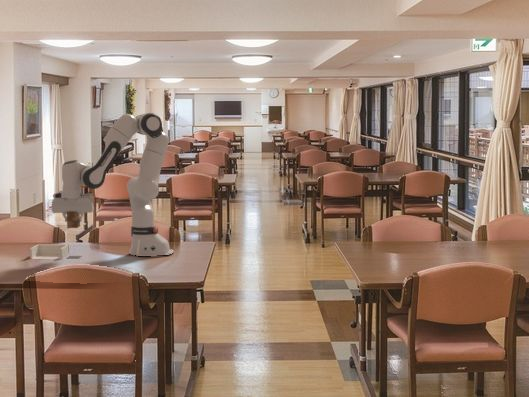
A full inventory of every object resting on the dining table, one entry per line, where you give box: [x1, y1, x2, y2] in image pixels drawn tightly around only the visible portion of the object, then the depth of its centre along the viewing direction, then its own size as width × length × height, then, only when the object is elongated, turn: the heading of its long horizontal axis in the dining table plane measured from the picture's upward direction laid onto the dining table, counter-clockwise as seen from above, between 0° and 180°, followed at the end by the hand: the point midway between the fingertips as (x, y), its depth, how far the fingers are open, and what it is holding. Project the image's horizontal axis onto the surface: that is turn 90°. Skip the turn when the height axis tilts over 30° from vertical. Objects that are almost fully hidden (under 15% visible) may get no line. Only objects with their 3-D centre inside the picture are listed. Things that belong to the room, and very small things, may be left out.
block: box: [66, 212, 81, 229], centre depth 361 cm, size 5×5×8 cm
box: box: [29, 243, 70, 260], centre depth 365 cm, size 16×11×6 cm
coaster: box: [65, 255, 83, 260], centre depth 363 cm, size 6×6×1 cm
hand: (73, 221), depth 361 cm, fingers closed on block, 5 cm apart
